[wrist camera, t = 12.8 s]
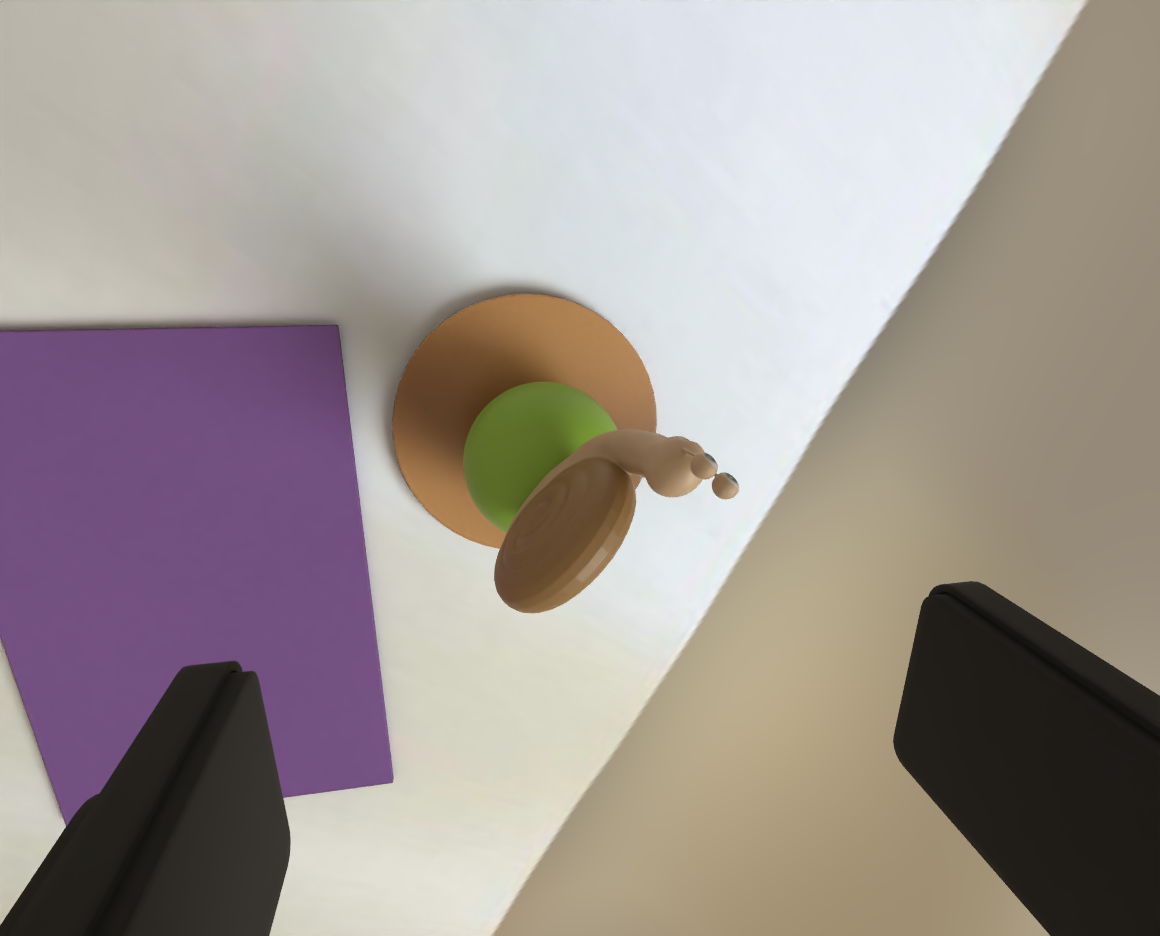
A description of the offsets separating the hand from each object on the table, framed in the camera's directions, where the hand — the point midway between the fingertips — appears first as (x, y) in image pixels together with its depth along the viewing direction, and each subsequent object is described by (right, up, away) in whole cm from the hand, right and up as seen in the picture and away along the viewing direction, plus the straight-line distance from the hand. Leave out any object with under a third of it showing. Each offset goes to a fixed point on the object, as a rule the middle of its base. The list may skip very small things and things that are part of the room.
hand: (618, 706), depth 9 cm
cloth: (-15, -2, +15) cm, 22 cm away
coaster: (-3, +5, +15) cm, 16 cm away
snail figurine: (-2, +5, +15) cm, 16 cm away
